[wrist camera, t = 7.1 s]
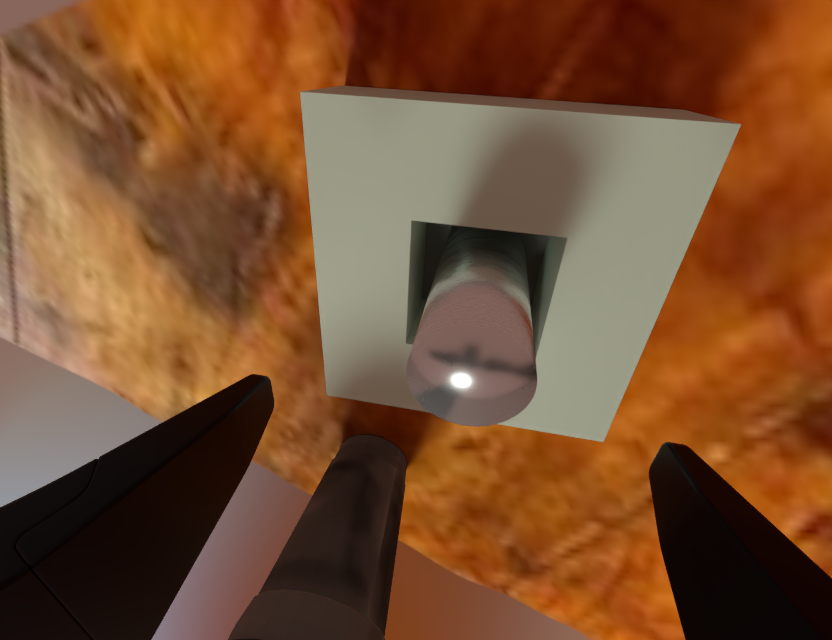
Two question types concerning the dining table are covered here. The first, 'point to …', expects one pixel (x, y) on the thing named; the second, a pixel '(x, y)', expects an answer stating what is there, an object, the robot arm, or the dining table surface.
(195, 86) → the dining table surface
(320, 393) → the dining table surface
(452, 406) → the peg
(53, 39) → the dining table surface
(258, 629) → the beverage cup
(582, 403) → the socket block
